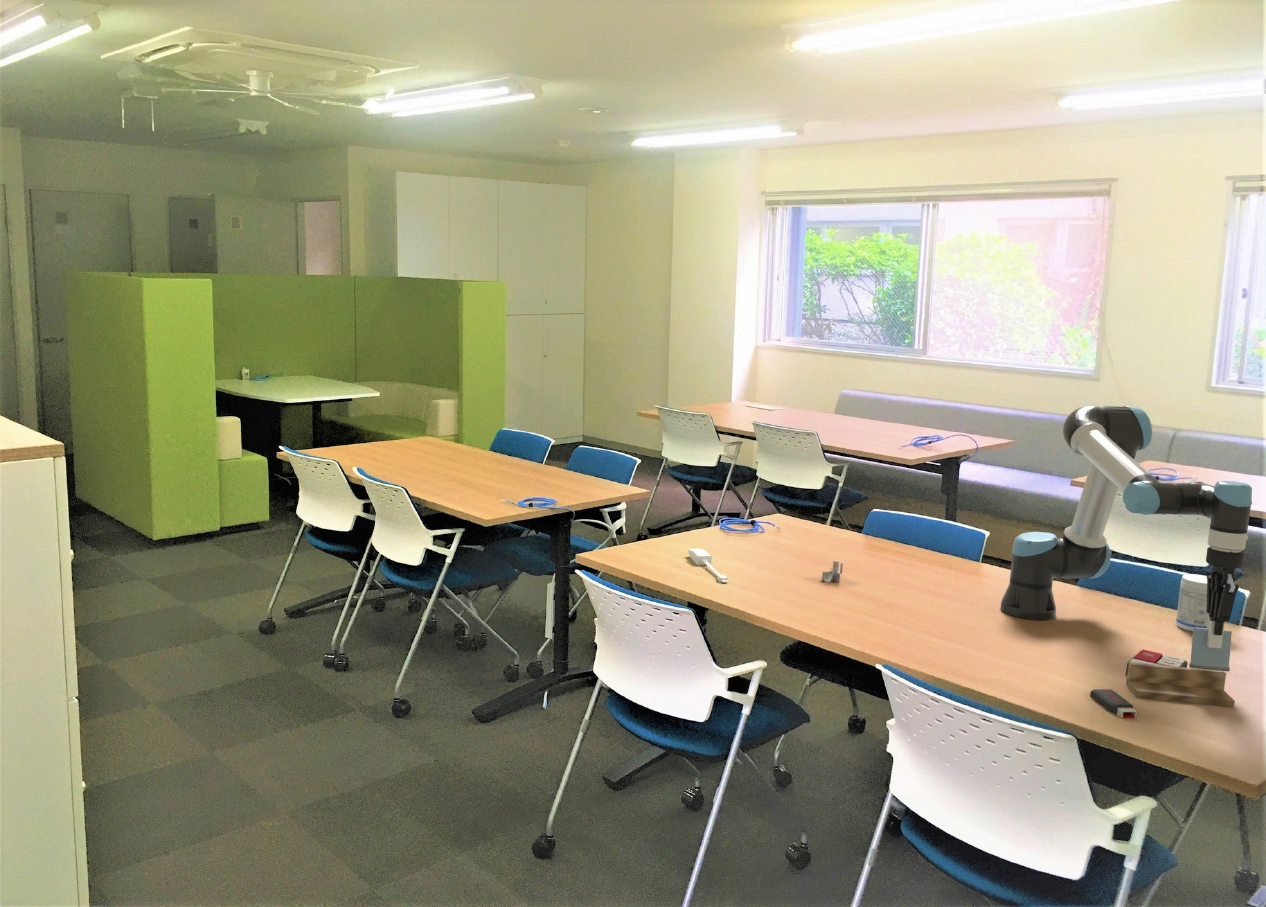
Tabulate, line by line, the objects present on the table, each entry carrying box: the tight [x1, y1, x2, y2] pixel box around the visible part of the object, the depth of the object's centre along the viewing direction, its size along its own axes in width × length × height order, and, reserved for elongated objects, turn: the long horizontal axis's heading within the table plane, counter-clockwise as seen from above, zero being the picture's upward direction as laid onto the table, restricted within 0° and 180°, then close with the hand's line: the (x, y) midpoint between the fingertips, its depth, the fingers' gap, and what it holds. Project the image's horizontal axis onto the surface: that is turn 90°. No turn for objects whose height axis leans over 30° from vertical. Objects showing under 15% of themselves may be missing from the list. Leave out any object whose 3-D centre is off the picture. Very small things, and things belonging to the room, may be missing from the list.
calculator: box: [1125, 649, 1189, 677], centre depth 251 cm, size 11×4×15 cm
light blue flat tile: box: [1188, 627, 1232, 672], centre depth 238 cm, size 8×10×1 cm
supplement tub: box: [1175, 573, 1210, 633], centre depth 286 cm, size 10×10×15 cm
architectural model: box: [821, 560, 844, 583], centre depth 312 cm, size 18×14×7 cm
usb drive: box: [1089, 688, 1138, 719], centre depth 229 cm, size 5×12×3 cm, turn 4°
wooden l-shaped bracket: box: [1125, 661, 1236, 708], centre depth 237 cm, size 21×8×6 cm, turn 80°
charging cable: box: [687, 548, 729, 584], centre depth 328 cm, size 5×32×3 cm, turn 14°
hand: (1213, 646), depth 236 cm, fingers closed
